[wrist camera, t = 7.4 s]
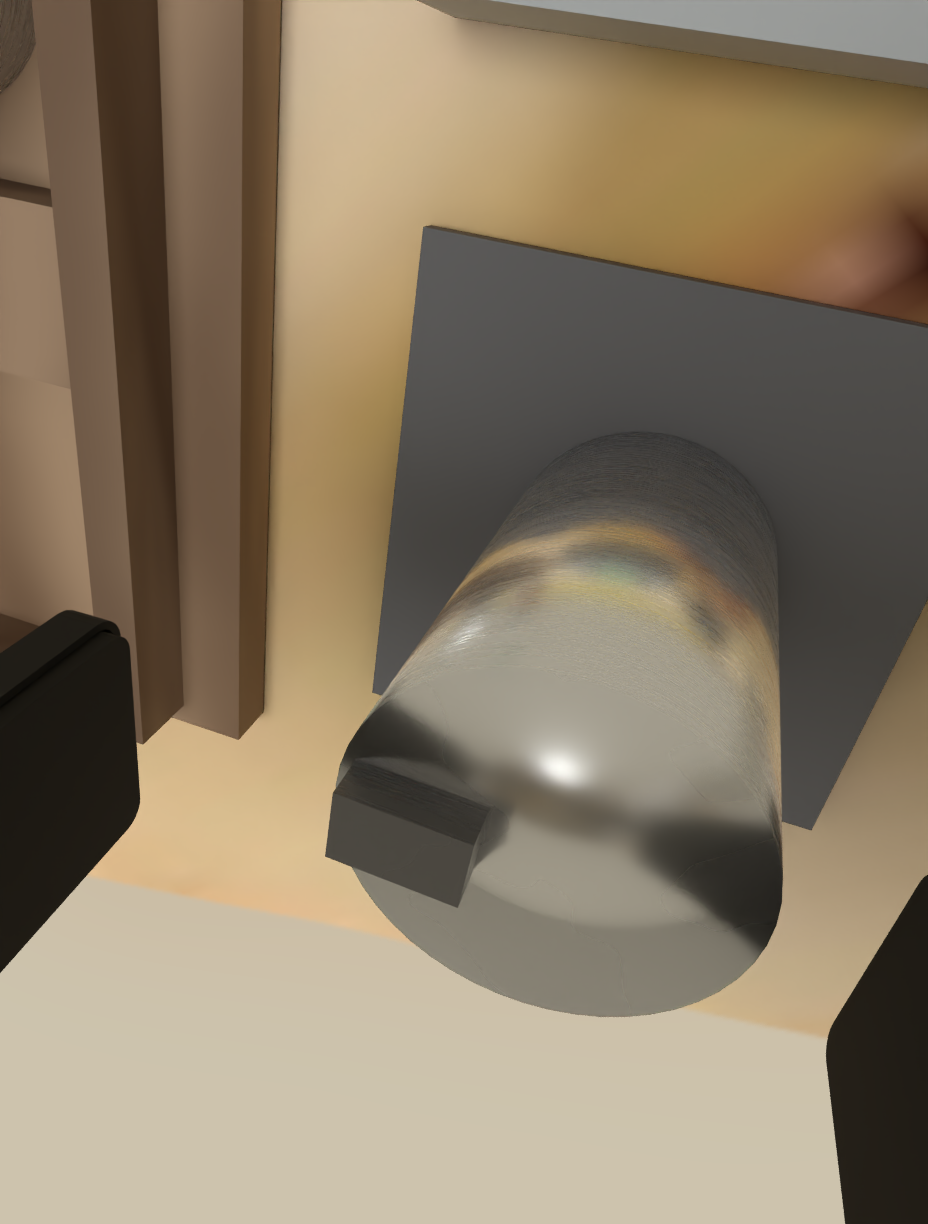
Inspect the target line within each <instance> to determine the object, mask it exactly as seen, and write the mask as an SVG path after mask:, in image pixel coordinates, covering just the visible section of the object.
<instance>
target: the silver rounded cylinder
mask: <svg viewBox="0 0 928 1224" xmlns="http://www.w3.org/2000/svg"><path fill="white" fill-rule="evenodd" d="M325 857H328V858H331V859H333V860H336V861H338V862H341V863H343V864H346V865H348V866H351V867H352V868H353V870H354V872H355V874H356V875H357V877H358V879H359V881H360V882H361V884H362V886H363V887H364V889H365V890H366V892H367V893H368V894H369V896H370V897H371V899H372V900H373V901H374V903H375V904H376V906H377V907H378V908H379V909H380V910H381V911H382V912H383V914H384V915H385V916H386V917H387V918H388V919H389V920H390V922H391V923H392V924H393V925H394V926H395V927H396V928H398V929H399V930H400V931H401V932H402V933H403V934H404V935H405V936H406V937H407V938H408V939H409V940H410V941H411V942H413V943H414V944H415V945H417V946H418V947H419V948H420V949H422V950H423V951H424V952H425V953H427V954H428V955H429V956H431V957H432V958H434V959H435V960H437V961H438V962H440V963H441V964H443V965H444V966H446V967H447V968H449V969H450V970H452V971H454V972H455V973H457V974H459V975H461V976H463V977H465V978H466V979H468V980H470V981H472V982H474V983H476V984H478V985H480V986H482V987H484V988H487V989H489V990H491V991H493V992H495V993H498V994H500V995H503V996H506V997H509V998H512V999H514V1000H517V1001H520V1002H523V1003H526V1004H530V1005H534V1006H537V1007H541V1008H545V1009H549V1010H554V1011H559V1012H565V1013H570V1014H577V1015H588V1016H598V1017H629V1016H640V1015H650V1014H655V1013H660V1012H665V1011H670V1010H675V1009H678V1008H681V1007H684V1006H687V1005H690V1004H693V1003H696V1002H699V1001H701V1000H703V999H705V998H707V997H709V996H711V995H713V994H715V993H717V992H719V991H721V990H722V989H723V988H725V987H726V986H728V985H729V984H731V983H732V982H734V981H735V980H737V979H738V978H739V977H740V976H741V975H742V974H743V973H744V972H745V971H746V970H747V969H748V968H749V967H750V966H751V965H753V964H754V962H755V961H756V960H757V958H758V957H759V955H760V954H761V953H762V951H763V950H764V949H765V947H766V946H767V944H768V942H769V940H770V937H771V935H772V933H773V931H774V929H775V927H776V924H777V920H778V916H779V912H780V908H781V903H782V884H783V866H782V805H781V744H780V682H779V621H778V560H777V545H776V537H775V533H774V529H773V526H772V522H771V519H770V517H769V514H768V512H767V510H766V508H765V505H764V503H763V502H762V500H761V498H760V497H759V495H758V494H757V492H756V491H755V489H754V488H753V487H752V485H751V484H750V483H749V482H748V481H747V480H746V478H745V477H744V476H743V475H742V474H741V473H740V472H739V471H738V470H737V469H735V468H734V467H733V466H732V465H731V464H730V463H729V462H727V461H726V460H724V459H723V458H721V457H720V456H718V455H717V454H715V453H714V452H712V451H710V450H708V449H706V448H704V447H702V446H700V445H698V444H696V443H693V442H691V441H688V440H685V439H682V438H679V437H675V436H670V435H665V434H660V433H649V432H626V433H617V434H612V435H606V436H602V437H599V438H595V439H592V440H589V441H586V442H584V443H582V444H580V445H578V446H575V447H573V448H571V449H569V450H568V451H566V452H565V453H563V454H562V455H560V456H559V457H557V458H556V459H554V460H553V461H552V462H551V463H550V464H549V465H547V466H546V467H545V468H544V469H543V470H542V471H541V472H540V473H539V475H538V476H537V477H536V478H535V479H534V480H533V481H532V483H531V484H530V486H529V487H528V489H527V490H526V491H525V493H524V494H523V496H522V497H521V498H520V500H519V501H518V503H517V504H516V506H515V507H514V508H513V510H512V511H511V513H510V514H509V516H508V517H507V518H506V520H505V521H504V523H503V524H502V526H501V527H500V528H499V530H498V531H497V533H496V534H495V535H494V537H493V538H492V540H491V541H490V543H489V544H488V545H487V547H486V548H485V550H484V551H483V553H482V554H481V555H480V557H479V558H478V560H477V561H476V563H475V564H474V565H473V567H472V568H471V570H470V571H469V572H468V574H467V575H466V577H465V578H464V580H463V581H462V582H461V584H460V585H459V587H458V588H457V590H456V591H455V592H454V594H453V595H452V597H451V598H450V600H449V601H448V602H447V604H446V605H445V607H444V608H443V609H442V611H441V612H440V614H439V615H438V617H437V618H436V619H435V621H434V622H433V624H432V625H431V627H430V628H429V629H428V631H427V632H426V634H425V635H424V637H423V638H422V639H421V641H420V642H419V644H418V645H417V646H416V648H415V649H414V651H413V652H412V654H411V655H410V656H409V658H408V659H407V661H406V662H405V664H404V665H403V666H402V668H401V669H400V671H399V672H398V674H397V675H396V676H395V678H394V679H393V681H392V682H391V683H390V685H389V686H388V688H387V689H386V691H385V692H384V693H383V695H382V696H381V698H380V699H379V701H378V702H377V703H376V705H375V706H374V708H373V709H372V711H371V712H370V713H369V715H368V716H367V718H366V719H365V720H364V722H363V723H362V725H361V726H360V728H359V729H358V731H357V732H356V734H355V735H354V737H353V739H352V740H351V742H350V743H349V745H348V747H347V749H346V752H345V754H344V757H343V759H342V762H341V764H340V768H339V773H338V778H337V782H336V789H335V791H334V792H333V797H332V805H331V813H330V821H329V830H328V838H327V846H326V854H325Z"/></svg>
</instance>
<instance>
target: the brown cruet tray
mask: <svg viewBox="0 0 928 1224" xmlns="http://www.w3.org/2000/svg"><path fill="white" fill-rule="evenodd" d="M32 10H33V20H34V30H35V40H36V45H35V47H34V50H33V52H32V55H31V57H30V59H29V61H28V62H27V64H26V66H25V68H24V69H23V71H22V73H21V74H20V75H19V76H18V78H17V79H16V80H15V81H14V82H13V84H12V85H11V86H10V87H9V88H7V89H6V90H5V91H4V92H3V93H1V94H0V653H1V652H3V651H4V650H6V649H7V648H9V647H10V646H11V645H13V644H14V643H16V642H17V641H19V640H20V639H22V638H23V637H25V636H26V635H28V634H29V633H30V632H32V631H33V630H35V629H36V628H38V627H39V626H41V625H42V624H44V623H45V622H47V621H48V620H49V619H51V618H52V617H54V616H55V615H57V614H58V613H60V612H63V611H65V610H74V611H78V612H81V613H85V614H88V615H92V616H95V617H98V618H102V619H105V620H109V621H111V622H113V623H115V624H116V625H117V626H118V628H119V630H120V634H121V637H124V638H125V639H127V641H128V643H129V646H130V656H131V671H132V686H133V700H134V715H135V730H136V742H137V743H140V744H144V743H145V742H146V741H147V740H148V739H149V738H150V737H151V736H152V735H153V734H154V733H156V732H157V731H158V730H159V729H160V728H161V727H162V726H163V725H164V724H165V723H166V722H167V721H168V720H169V719H170V718H171V717H172V718H175V719H178V720H181V721H184V722H187V723H190V724H193V725H196V726H199V727H202V728H205V729H208V730H211V731H214V732H217V733H220V734H223V735H226V736H229V737H232V738H235V739H238V740H239V739H240V738H241V737H242V735H243V734H244V733H245V732H246V731H247V730H248V729H249V728H250V726H251V725H252V724H253V723H254V722H255V721H256V720H257V719H258V717H259V716H260V715H261V714H262V713H263V697H264V657H265V618H266V578H267V538H268V499H269V459H270V420H271V380H272V341H273V301H274V262H275V222H276V182H277V143H278V103H279V64H280V24H281V0H32Z"/></svg>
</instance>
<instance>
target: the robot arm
mask: <svg viewBox="0 0 928 1224" xmlns="http://www.w3.org/2000/svg"><path fill="white" fill-rule="evenodd" d="M139 804H140V789H139V774H138V760H137V745H136V730H135V715H134V700H133V686H132V671H131V656H130V646H129V643H128V641H127V639H125V638H124V637H121V634H120V630H119V628H118V626H117V625H116V624H115V623H113V622H111V621H109V620H105V619H102V618H98V617H95V616H92V615H88V614H85V613H81V612H78V611H74V610H65V611H63V612H60V613H58V614H57V615H55V616H54V617H52V618H51V619H49V620H48V621H47V622H45V623H44V624H42V625H41V626H39V627H38V628H36V629H35V630H33V631H32V632H30V633H29V634H28V635H26V636H25V637H23V638H22V639H20V640H19V641H17V642H16V643H14V644H13V645H11V646H10V647H9V648H7V649H6V650H4V651H3V652H1V653H0V973H1V971H2V970H3V969H4V968H5V967H6V966H7V965H8V964H9V962H10V961H11V960H12V959H13V958H14V957H15V956H16V955H17V953H18V952H19V951H20V950H21V949H22V948H23V947H24V945H25V944H26V943H27V942H28V941H29V940H30V939H31V938H32V937H33V935H34V934H35V933H36V932H37V931H38V930H39V928H41V926H42V925H43V924H44V923H45V922H46V921H47V920H48V918H49V917H50V916H51V915H52V914H53V913H54V912H55V911H56V909H57V908H58V907H59V906H60V905H61V904H62V903H63V902H64V900H65V899H66V898H67V897H68V896H69V895H70V894H71V893H72V891H73V890H74V889H75V888H76V887H77V886H78V885H79V884H80V882H81V881H82V880H83V879H84V878H85V877H86V876H87V875H88V873H89V872H90V871H91V870H92V869H93V868H94V867H95V865H96V864H97V863H98V862H99V861H100V860H101V859H102V858H103V856H104V855H105V854H106V853H107V852H108V851H109V850H110V849H111V847H112V846H113V845H114V844H115V843H116V842H117V841H118V840H119V838H120V837H121V836H122V835H123V834H124V833H125V832H126V831H127V829H128V828H129V827H130V825H131V824H132V822H133V821H134V819H135V817H136V814H137V812H138V809H139ZM826 1063H827V1071H828V1079H829V1087H830V1097H831V1105H832V1114H833V1123H834V1131H835V1140H836V1148H837V1156H838V1165H839V1174H840V1183H841V1191H842V1199H843V1208H844V1217H845V1224H928V875H927V876H925V877H924V878H923V879H922V880H921V882H920V883H919V885H918V886H917V888H916V890H915V891H914V893H913V894H912V896H911V898H910V899H909V901H908V903H907V904H906V906H905V907H904V909H903V911H902V912H901V914H900V915H899V917H898V919H897V920H896V922H895V924H894V925H893V927H892V928H891V930H890V932H889V933H888V935H887V937H886V938H885V940H884V941H883V943H882V945H881V946H880V948H879V950H878V951H877V953H876V954H875V956H874V958H873V959H872V961H871V963H870V964H869V966H868V967H867V969H866V971H865V972H864V974H863V976H862V977H861V979H860V980H859V982H858V984H857V985H856V987H855V989H854V990H853V992H852V993H851V995H850V997H849V998H848V1000H847V1001H846V1003H845V1005H844V1006H843V1008H842V1010H841V1011H840V1013H839V1014H838V1016H837V1018H836V1019H835V1021H834V1023H833V1025H832V1027H831V1029H830V1032H829V1035H828V1040H827V1048H826Z"/></svg>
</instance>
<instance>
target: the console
mask: <svg viewBox="0 0 928 1224" xmlns="http://www.w3.org/2000/svg"><path fill="white" fill-rule="evenodd" d="M417 1H419V2H422V3H424V4H426V5H428V6H430V7H433V8H435V9H437V10H439V11H442V12H444V13H446V14H448V15H450V16H453V17H455V18H462V19H469V20H475V21H482V22H489V23H495V24H502V25H509V26H515V27H522V28H529V29H535V30H542V31H549V32H555V33H562V34H569V35H575V36H582V37H589V38H595V39H602V40H609V41H615V42H622V43H629V44H635V45H642V46H649V47H655V48H662V49H669V50H675V51H682V52H689V53H695V54H702V55H709V56H715V57H722V58H729V59H735V60H742V61H749V62H755V63H762V64H769V65H775V66H782V67H789V68H795V69H802V70H809V71H815V72H822V73H829V74H835V75H842V76H849V77H855V78H862V79H869V80H875V81H882V82H889V83H895V84H902V85H909V86H915V87H922V88H928V0H417Z"/></svg>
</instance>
